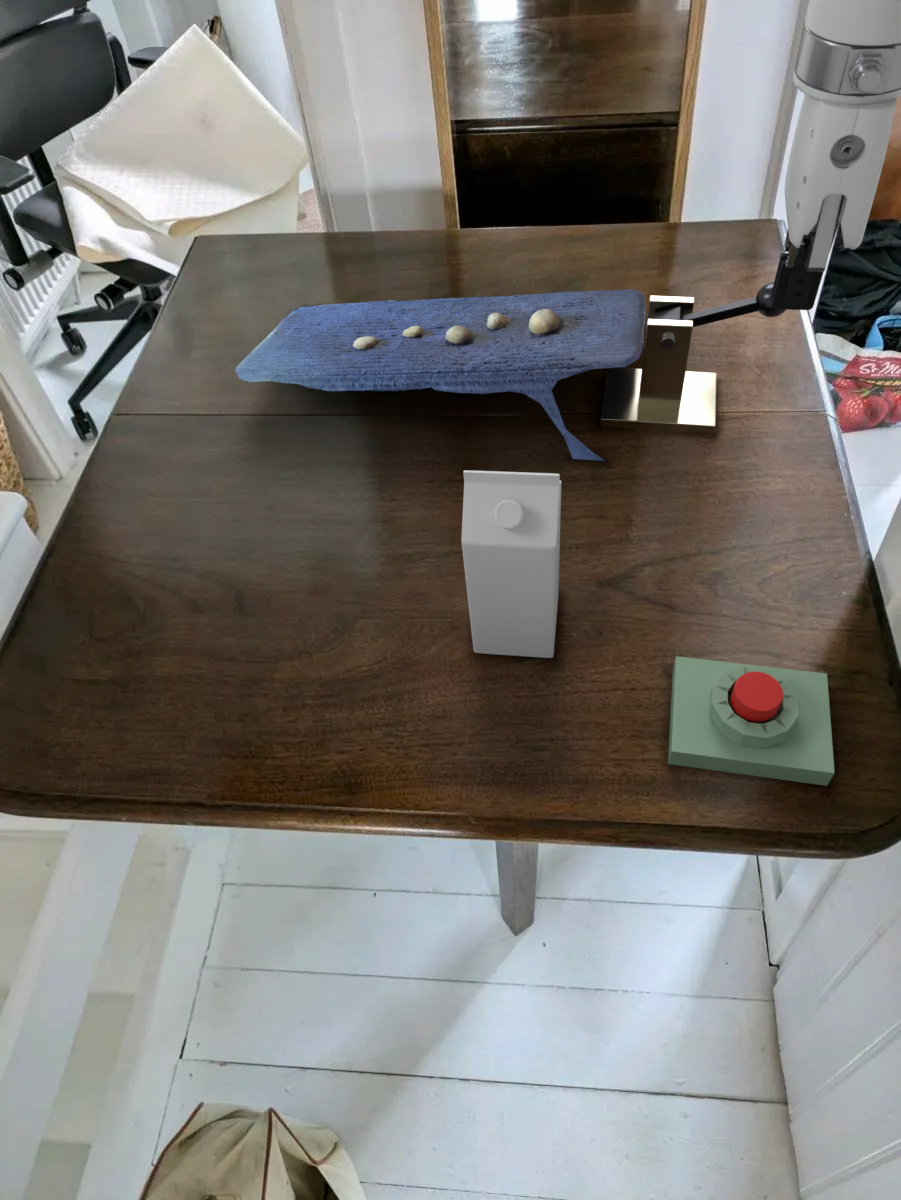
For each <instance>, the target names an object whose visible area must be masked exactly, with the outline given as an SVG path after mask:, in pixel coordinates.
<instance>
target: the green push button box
mask: <svg viewBox="0 0 901 1200" xmlns="http://www.w3.org/2000/svg"><path fill="white" fill-rule="evenodd" d="M748 672H762V673H766V674H768V675H770V676H772V677H773V678H774V679H776V680H777V681H778V683H779V684H780V686H781V688H782V690H783V700H782V702H781V705H780V707H779V709H778V712H777V713H776V715H775V716H774V717H773V718H772V719H770V720H768V721H765V722H752V721H748V720H746V719H744V718H742V717H741V716H740V715H738V714H737V713H736V711H735V710H734V708H733V707H732V704H731V695H732V691H733V688H734V686H735V683H736V681H737V679H738V678H739V677H740V676H742V675H743V674H745V673H748ZM671 680H672V682H671V698H670V699H671V702H670V718H669V719H670V720H669V738H668V739H669V740H668V741H669V742H668V757H667V758H668V760H667V764H668V765H672V766H679V767H687V768H694V769H701V770H709V771H717V772H723V773H731V774H737V775H738V774H739V775H745V776H752V777H760V778H767V779H774V780H781V781H782V780H783V781H789V782H796V783H804V784H811V785H818V786H828V785H829V784H830V782H831V780H832V778H833V777H834V775H835V759H834V746H833V744H834V743H833V731H832V720H831V707H830V694H829V681H828V673H827V672H818V671H817V672H816V671H810V670H809V671H808V670H798V669H791V668H781V667H772V666H766V665H765V666H763V665H757V664H756V665H755V664H747V663H738V662H729V661H720V660H712V659H703V658H695V657H694V658H693V657H685V656H677V655H676V656H675V659H674V664H673V668H672V679H671Z"/></svg>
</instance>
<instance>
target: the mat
mask: <svg viewBox="0 0 901 1200" xmlns="http://www.w3.org/2000/svg"><path fill="white" fill-rule="evenodd" d="M645 323H646V296H645V294H644V293H643V292H642V291H640V290H637V289H634V288H630V289H629V288H628V289H602V290H601V289H600V290H585V291H584V290H583V291H577V290H576V291H574V290H572V291H557V292H547V293H545V292H544V293H534V294H533V293H532V294H530V293H529V294H514V295H501V296H475V297H473V296H472V297H471V296H470V297H449V298H445V297H444V298H432V299H413V300H400V301H399V300H398V301H397V300H395V299H394V300H393V299H388V300H378V301H377V300H375V301H374V300H373V301H365V302H364V301H363V302H362V301H361V302H347V303H346V302H345V303H329V304H320V305H309V306H304V307H303V306H301V307H297V308H295V309H293V310H292V311H291V312H290V313H289V315H287V316H285V317H284V318H282V320H281V321H280V322H279V323H278V324H277V326H276V327H275V328H273V329H272V330H271V332H270V333H268V335H267V336H266V337H265V338H264V339H263V340H262V341H261V342H259V344H258V345H256V346H255V348H254V349H252V350H251V352H250V353H249V354H248V355H246V357H245V358H244V359H242V360H241V361H240V362H239V364H238V365H237V366H236V367H235V369H234V372H235V373H236V375H237V377H238V379H239V380H240V381H244V382H248V383H260V382H275V383H282V384H296V385H300V386H302V387H305V388H307V389H314V390H319V391H320V390H321V391H325V392H345V391H346V392H349V391H351V392H365V391H368V392H390V391H391V392H399V391H401V392H405V391H410V390H411V391H413V390H424V389H428V388H429V389H433V390H434V391H438V392H449V393H456V394H475V395H476V394H478V395H486V394H493V393H506V392H509V393H517V394H518V393H519V394H523V395H525V396H527V397H528V398H530V399H531V400H533V401H535V402H537V403H538V404H540V405H541V407H542V408H543V409H544V411H545V412H546V414H547V415H548V417H549V418H550V420H551V421H552V422H553V424H554V425H555V427H556V428H557V429H558V431H559V432H560V434H561V435H562V436H563V438H564V440H565V443H566V446H567V448H568V450H569V453H570V456H571V458H572V460H582V461H583V460H584V461H600V462H601V461H602V462H605V461H606V460H605V459H603V458H602V457H600V456H599V455H598V454H596V453H595V452H593V451H592V450H591V449H589V447H588V446H586V445H585V444H584V443H583V442H582V441H580V440H579V439H578V438H577V437H576V436H575V435H573V434H572V433H571V432H570V431H568V430H567V428H566V426H565V423H564V421H563V418H562V415H561V413H560V410H559V406H558V405H557V401H556V399H555V396H554V394H553V391H552V390H553V389H554V387H555V386H556V384H557V383H558V381H560V380H563V379H567V378H570V377H572V376H575V375H578V374H582V373H584V372H588V371H590V370H597V369H598V370H599V369H608V368H615V367H616V368H627V367H628V366H630V365H631V364H632V363H634V362H636V361H637V360H639V359H640V356H641V354H642V350H643V349H644V348H643V347H644V343H645V337H644V336H645V335H644V334H645V331H644V330H645Z"/></svg>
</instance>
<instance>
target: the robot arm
mask: <svg viewBox="0 0 901 1200" xmlns="http://www.w3.org/2000/svg"><path fill="white" fill-rule="evenodd" d="M800 36H801V37H800V41H799V46H798V50H797V55H796V59H795V64H794V69H793V72H792V73H793V74H792V83H793V85H794V86H795V88H796V89H798V90H799V91H800V92H801V93H802V94H804V95H803V98H802V103H801V106H800V110H799V113H798V117H797V120H796V121H797V122H796V125H795V130H794V133H793V138H792V142H791V147H790V152H789V156H788V162H787V168H786V172H785V173H786V174H785V180H784V203H785V204H784V205H785V215H786V223H787V224H786V225H787V231H786V235H785V240H784V246H783V250H784V251H783V252H782V253H780V257H779V260H778V263H777V269H776V273H775V277H774V281H773V282H774V285H773V289H772V293H771V299H772V307H773V308H774V309H787V310H788V311H789V310H790V311H792V310H793V311H810V310H812V309H813V308H814V305H815V302H816V298H817V295H818V292H819V289H820V285H821V282H822V278H823V276H824V272H825V271H826V268H827V265H828V259H829V255H830V253H831V249H832V247H833V244H834V241H835V238H836V235H837V232H838V229H839V227H840V230H841V236H842V243H843V248H844V249H849V250H851V251H852V250H856V249H857V248H858V247H860V245H861V244H862V242H863V240H864V236H865V232H866V229H867V224H868V221H869V218H870V215H871V210H872V207H873V203H874V200H875V196H876V193H877V189H878V185H879V182H880V178H881V174H882V172H883V171H882V170H883V167H884V163H885V159H886V154H887V150H888V146H889V142H890V137H891V133H892V128H893V123H894V117H895V113H896V112H895V111H896V106H897V99H898V98H900V97H901V0H808V5H807V10H806V13H805V18H804V22H803V28H802V32H801V35H800ZM787 310H786V311H787Z"/></svg>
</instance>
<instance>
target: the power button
mask: <svg viewBox="0 0 901 1200" xmlns="http://www.w3.org/2000/svg"><path fill="white" fill-rule="evenodd" d="M782 700H783V690H782V688H781V686H780V684H779V683H778V681H777V680H776V679H774V678H773V677H772V676H770V675H768V674H766V673H762V672H748V673H745V674H743V675H742V676H740V677H739V678H738V679H737V681H736V683H735V686H734V688H733V691H732V695H731V704H732V707H733V708H734V710H735V711H736V713H737V714H738V715H740V716H741V717H742V718H744V719H746V720H748V721H752V722H765V721H768V720H770V719H772V718H773V717H774V716H775V715H776V713H777V712H778V709H779V707H780V705H781V702H782Z"/></svg>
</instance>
